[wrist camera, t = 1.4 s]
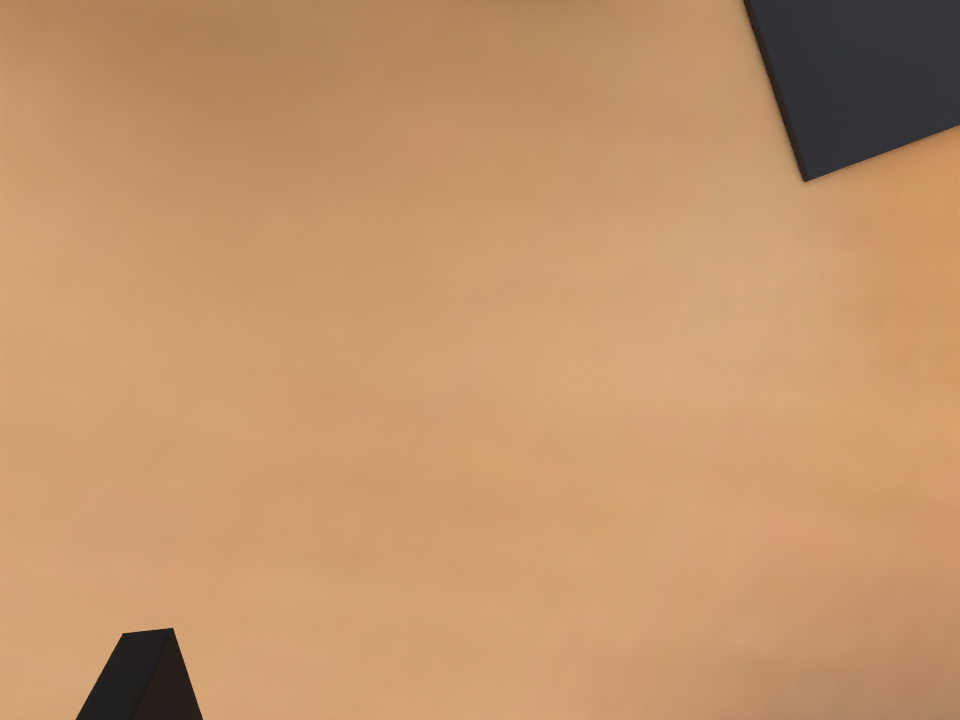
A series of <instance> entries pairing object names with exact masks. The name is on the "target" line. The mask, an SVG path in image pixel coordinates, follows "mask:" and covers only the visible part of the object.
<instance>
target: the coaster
mask: <svg viewBox="0 0 960 720" xmlns="http://www.w3.org/2000/svg"><path fill="white" fill-rule="evenodd" d="M744 3H745V6H746V9H747V12H748V15H749V18H750V21H751V24H752V27H753V30H754V33H755V36H756V39H757V42H758V45H759V48H760V51H761V54H762V57H763V60H764V63H765V66H766V69H767V72H768V75H769V78H770V81H771V84H772V87H773V90H774V93H775V96H776V99H777V102H778V105H779V108H780V111H781V114H782V117H783V120H784V123H785V126H786V129H787V132H788V135H789V138H790V141H791V144H792V147H793V150H794V153H795V156H796V159H797V162H798V165H799V168H800V171H801V174H802V177H803V180H804V181H809V180H811V179H814V178H817V177H820V176H822V175H825V174H828V173H830V172H833V171H836V170H839V169H841V168H844V167H847V166H849V165H852V164H855V163H857V162H860V161H863V160H866V159H868V158H871V157H874V156H876V155H879V154H882V153H885V152H887V151H890V150H893V149H895V148H898V147H901V146H903V145H906V144H909V143H912V142H914V141H917V140H920V139H922V138H925V137H928V136H931V135H933V134H936V133H939V132H941V131H944V130H947V129H949V128H952V127H955V126H958V125H960V0H744Z"/></svg>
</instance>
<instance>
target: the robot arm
mask: <svg viewBox="0 0 960 720" xmlns="http://www.w3.org/2000/svg"><path fill="white" fill-rule="evenodd" d="M76 720H203V718H202V715H201V712H200V709H199V706H198V703H197V700H196V697H195V694H194V691H193V688H192V685H191V682H190V679H189V675H188V672H187V669H186V666H185V663H184V660H183V657H182V654H181V651H180V648H179V645H178V642H177V639H176V636H175V633H174V630H173V628H168V629H159V630H150V631H140V632H131V633H123V634H122V636H121V638H120V640H119V642H118V643H117V645H116V647H115V649H114V651H113V652H112V654H111V656H110V658H109V660H108V662H107V663H106V665H105V667H104V669H103V671H102V672H101V674H100V676H99V678H98V680H97V682H96V683H95V685H94V687H93V689H92V691H91V692H90V694H89V696H88V698H87V700H86V702H85V703H84V705H83V707H82V709H81V711H80V712H79V714H78V716H77V718H76Z"/></svg>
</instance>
